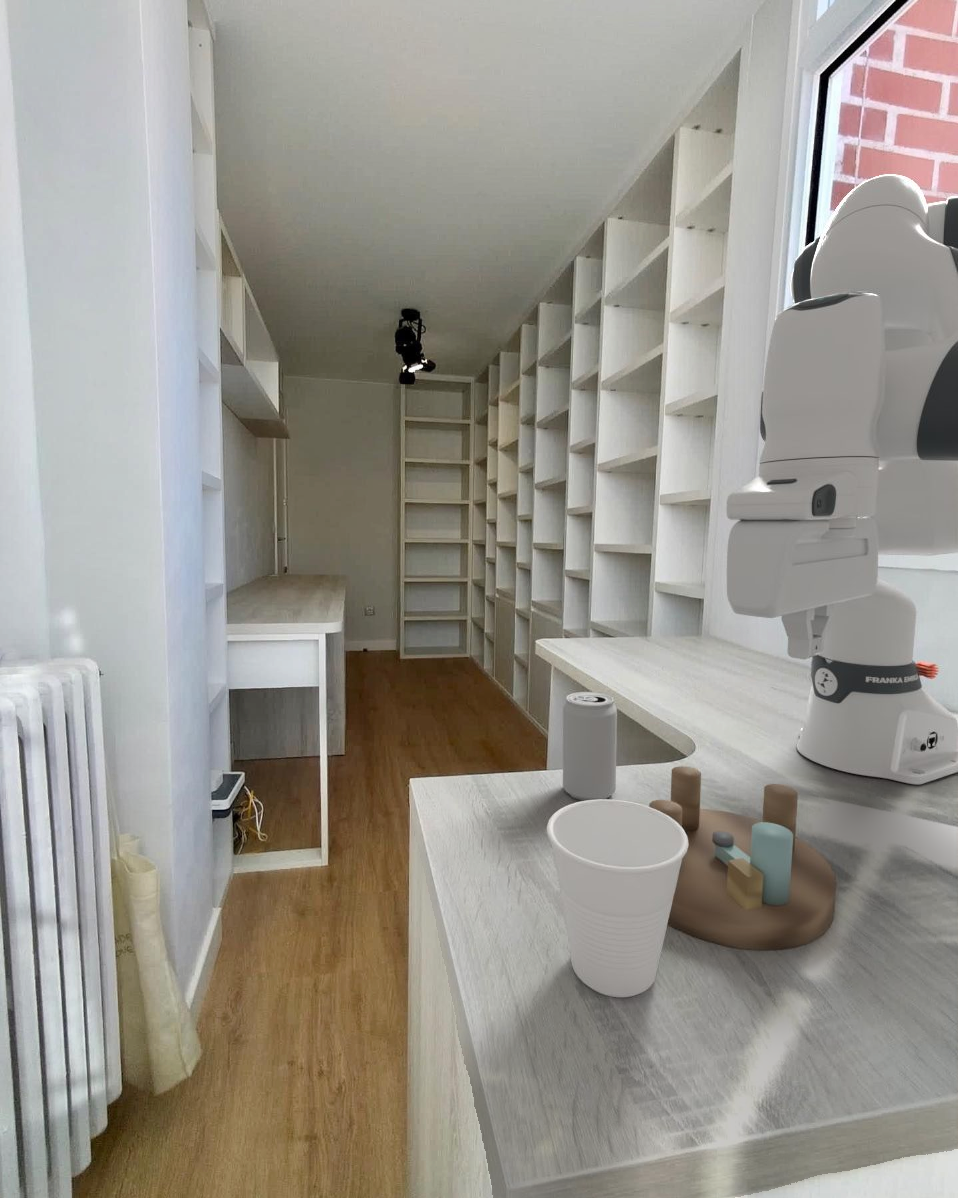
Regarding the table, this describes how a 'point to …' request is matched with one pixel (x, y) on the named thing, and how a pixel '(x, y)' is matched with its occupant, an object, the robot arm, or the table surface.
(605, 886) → the cup
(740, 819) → the stool seat
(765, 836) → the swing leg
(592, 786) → the beverage can
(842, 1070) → the table surface
